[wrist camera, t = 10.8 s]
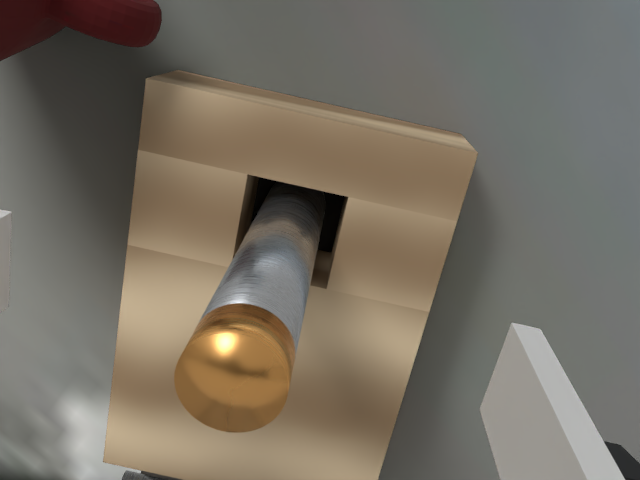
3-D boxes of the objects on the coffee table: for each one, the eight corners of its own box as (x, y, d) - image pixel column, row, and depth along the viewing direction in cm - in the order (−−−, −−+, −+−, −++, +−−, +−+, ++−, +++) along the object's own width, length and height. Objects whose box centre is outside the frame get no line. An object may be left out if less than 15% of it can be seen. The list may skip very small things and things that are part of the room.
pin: (272, 169, 26) (181, 322, 13) (331, 182, 26) (298, 347, 13) (262, 224, 27) (167, 419, 14) (319, 237, 27) (277, 443, 14)
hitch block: (178, 70, 25) (146, 78, 22) (460, 134, 25) (478, 153, 22) (111, 587, 35) (81, 654, 32) (314, 631, 35) (308, 703, 32)
